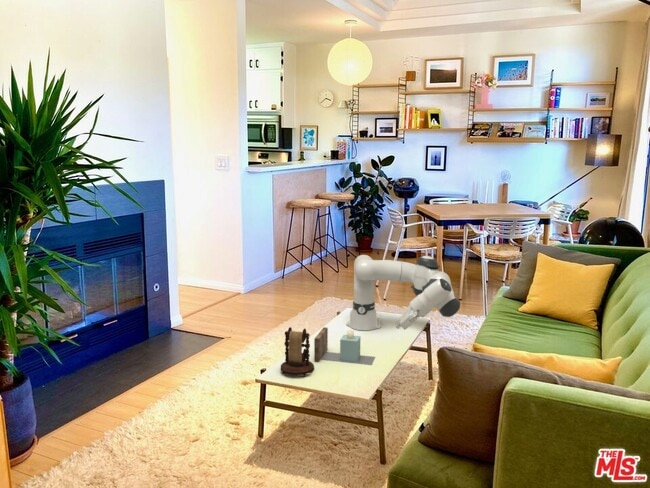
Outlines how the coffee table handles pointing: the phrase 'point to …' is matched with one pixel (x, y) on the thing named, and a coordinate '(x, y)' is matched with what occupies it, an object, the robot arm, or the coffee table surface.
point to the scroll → (297, 354)
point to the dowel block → (350, 347)
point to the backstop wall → (320, 344)
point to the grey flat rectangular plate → (336, 357)
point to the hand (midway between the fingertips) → (396, 326)
